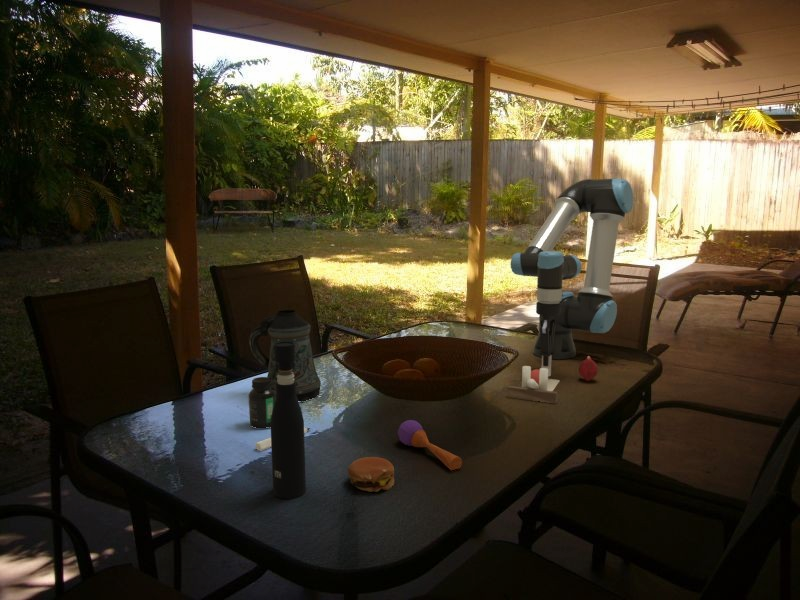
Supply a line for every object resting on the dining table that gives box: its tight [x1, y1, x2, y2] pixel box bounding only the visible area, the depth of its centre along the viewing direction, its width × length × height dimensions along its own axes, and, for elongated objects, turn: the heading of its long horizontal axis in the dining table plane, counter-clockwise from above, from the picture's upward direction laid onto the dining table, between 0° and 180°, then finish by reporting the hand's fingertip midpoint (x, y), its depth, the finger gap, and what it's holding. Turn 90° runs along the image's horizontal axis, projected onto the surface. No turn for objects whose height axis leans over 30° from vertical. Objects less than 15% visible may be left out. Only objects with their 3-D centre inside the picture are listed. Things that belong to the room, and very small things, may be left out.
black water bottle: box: [270, 342, 307, 500], centre depth 118 cm, size 6×6×30 cm
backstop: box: [506, 385, 558, 405], centre depth 174 cm, size 2×14×3 cm, turn 65°
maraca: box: [397, 419, 463, 472], centre depth 137 cm, size 6×6×20 cm
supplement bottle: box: [248, 376, 276, 428], centre depth 154 cm, size 7×7×12 cm
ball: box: [531, 368, 540, 385], centre depth 183 cm, size 6×6×6 cm
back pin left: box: [539, 367, 549, 391], centre depth 175 cm, size 2×2×8 cm
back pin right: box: [521, 365, 532, 388], centre depth 177 cm, size 2×2×8 cm
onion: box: [578, 355, 599, 382], centre depth 191 cm, size 6×6×8 cm
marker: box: [254, 427, 311, 452], centre depth 145 cm, size 3×2×16 cm
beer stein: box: [248, 309, 322, 402], centre depth 176 cm, size 16×19×25 cm
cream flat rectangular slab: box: [530, 378, 560, 392], centre depth 188 cm, size 13×8×1 cm, turn 155°
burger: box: [347, 456, 395, 493], centre depth 123 cm, size 10×9×5 cm
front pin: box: [527, 379, 539, 390], centre depth 176 cm, size 2×2×8 cm
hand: (546, 375), depth 191 cm, fingers closed
